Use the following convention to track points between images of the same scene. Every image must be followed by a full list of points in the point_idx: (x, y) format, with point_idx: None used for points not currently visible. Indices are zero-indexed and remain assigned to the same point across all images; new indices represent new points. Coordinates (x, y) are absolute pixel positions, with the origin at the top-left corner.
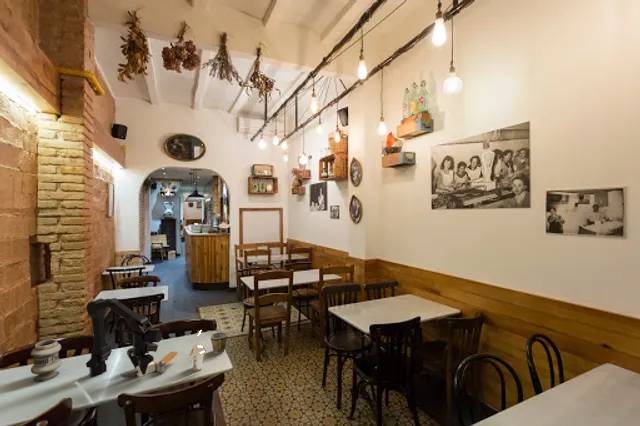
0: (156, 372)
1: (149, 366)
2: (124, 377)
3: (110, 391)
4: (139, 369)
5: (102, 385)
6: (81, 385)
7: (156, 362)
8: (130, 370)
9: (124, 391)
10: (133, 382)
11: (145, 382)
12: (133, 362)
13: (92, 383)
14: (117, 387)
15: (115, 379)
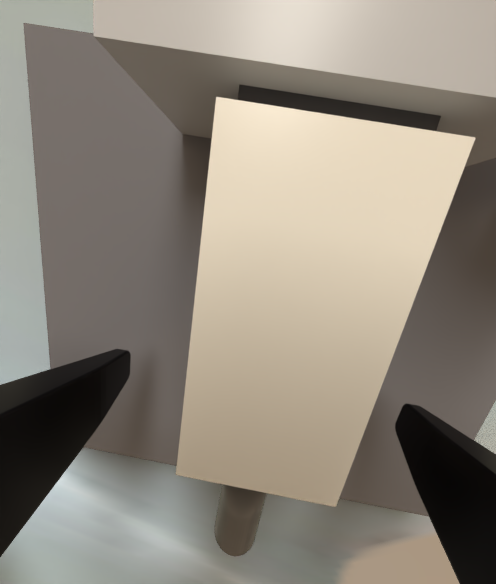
0: None
1: (392, 309)
2: (166, 457)
3: (269, 564)
4: (335, 496)
5: (124, 541)
6: (11, 578)
7: (456, 72)
8: (53, 349)
9: (378, 535)
10: (354, 475)
11: None
12: (4, 529)
13: (35, 548)
14: (259, 522)
15: (106, 465)
